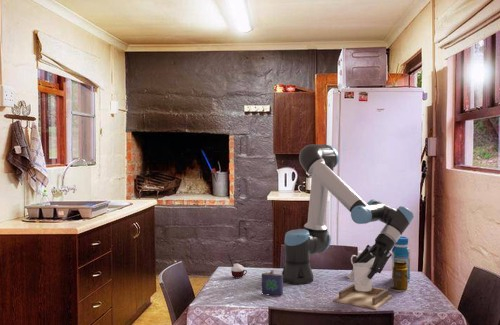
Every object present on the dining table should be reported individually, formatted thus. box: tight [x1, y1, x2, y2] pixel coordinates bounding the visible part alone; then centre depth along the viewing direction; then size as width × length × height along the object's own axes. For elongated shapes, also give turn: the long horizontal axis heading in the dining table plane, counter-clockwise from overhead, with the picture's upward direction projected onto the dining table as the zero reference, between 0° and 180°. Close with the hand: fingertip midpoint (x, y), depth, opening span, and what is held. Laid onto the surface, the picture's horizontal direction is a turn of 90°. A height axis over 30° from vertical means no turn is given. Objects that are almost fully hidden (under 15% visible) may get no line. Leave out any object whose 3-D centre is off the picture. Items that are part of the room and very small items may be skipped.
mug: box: [350, 249, 375, 265], centre depth 224 cm, size 12×8×11 cm
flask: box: [261, 269, 284, 295], centre depth 194 cm, size 9×3×11 cm, turn 74°
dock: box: [332, 283, 393, 310], centre depth 186 cm, size 18×18×3 cm
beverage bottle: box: [390, 235, 411, 282], centre depth 215 cm, size 8×8×20 cm
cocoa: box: [226, 252, 248, 278], centre depth 223 cm, size 10×6×12 cm, turn 82°
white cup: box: [352, 263, 373, 291], centre depth 186 cm, size 8×8×10 cm
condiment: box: [386, 260, 412, 293], centre depth 201 cm, size 7×8×12 cm
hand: (356, 281), depth 185 cm, fingers closed on white cup, 8 cm apart
